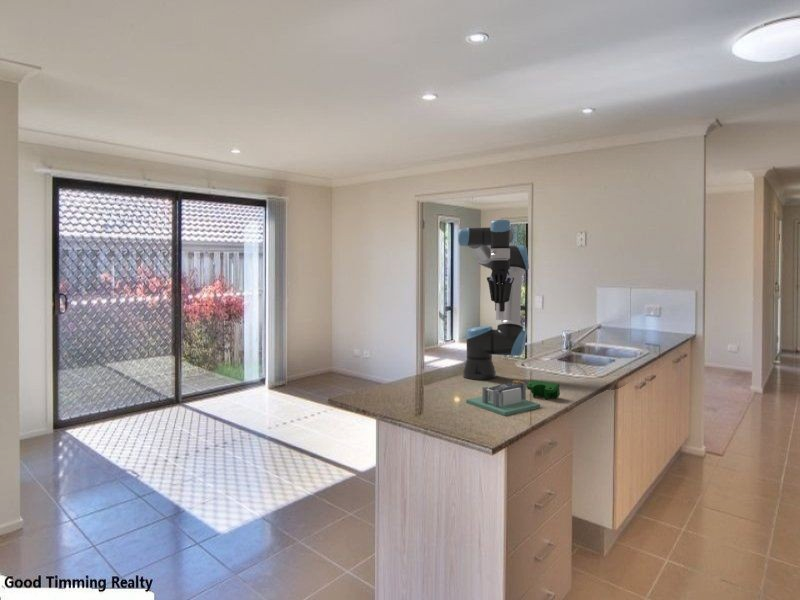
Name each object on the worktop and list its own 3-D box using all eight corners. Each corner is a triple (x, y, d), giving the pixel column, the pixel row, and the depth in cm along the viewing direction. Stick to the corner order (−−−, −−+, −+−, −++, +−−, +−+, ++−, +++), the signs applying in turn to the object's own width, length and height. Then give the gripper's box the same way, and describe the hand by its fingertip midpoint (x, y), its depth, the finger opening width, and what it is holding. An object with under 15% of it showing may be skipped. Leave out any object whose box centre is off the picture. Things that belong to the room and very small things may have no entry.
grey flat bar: (515, 383, 192) (515, 379, 192) (523, 385, 188) (522, 381, 188) (489, 390, 185) (488, 386, 184) (496, 392, 181) (496, 388, 181)
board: (501, 395, 199) (502, 376, 199) (540, 407, 183) (541, 386, 182) (466, 402, 190) (466, 383, 189) (504, 415, 173) (504, 394, 172)
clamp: (532, 407, 198) (521, 386, 198) (539, 400, 202) (528, 380, 203) (558, 401, 190) (547, 380, 190) (564, 394, 194) (553, 373, 194)
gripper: (481, 259, 200) (481, 318, 201) (505, 259, 189) (504, 321, 190) (495, 259, 204) (495, 317, 205) (519, 259, 193) (518, 320, 194)
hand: (499, 319), depth 198 cm, fingers closed
